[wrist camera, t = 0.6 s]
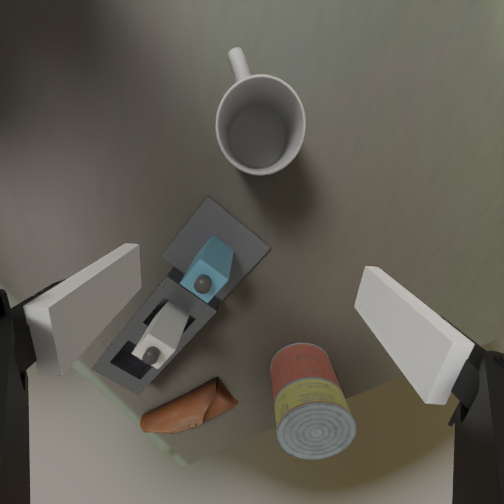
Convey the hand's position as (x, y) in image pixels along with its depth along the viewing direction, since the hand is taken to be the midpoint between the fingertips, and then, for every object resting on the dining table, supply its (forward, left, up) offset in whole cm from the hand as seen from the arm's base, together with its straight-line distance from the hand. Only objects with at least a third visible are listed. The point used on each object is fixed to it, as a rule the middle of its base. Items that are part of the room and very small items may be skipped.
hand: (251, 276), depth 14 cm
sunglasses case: (+17, -38, -24) cm, 47 cm away
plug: (0, -8, -22) cm, 24 cm away
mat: (0, -8, -23) cm, 24 cm away
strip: (+1, -25, -23) cm, 34 cm away
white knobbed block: (+1, -20, -22) cm, 30 cm away
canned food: (+26, -16, -23) cm, 38 cm away
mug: (-7, +9, -23) cm, 26 cm away
